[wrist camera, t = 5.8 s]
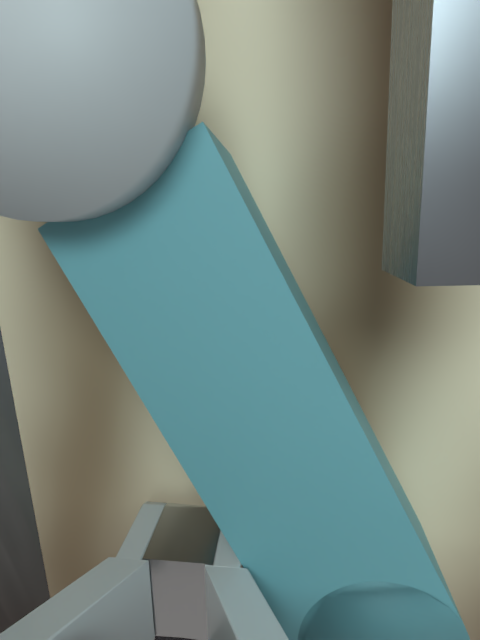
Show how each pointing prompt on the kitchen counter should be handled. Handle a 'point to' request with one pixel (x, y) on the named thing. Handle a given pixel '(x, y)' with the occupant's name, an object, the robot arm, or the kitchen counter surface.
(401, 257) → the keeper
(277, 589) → the lever with ball knob
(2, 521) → the kitchen counter surface
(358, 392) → the base board
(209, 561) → the robot arm
